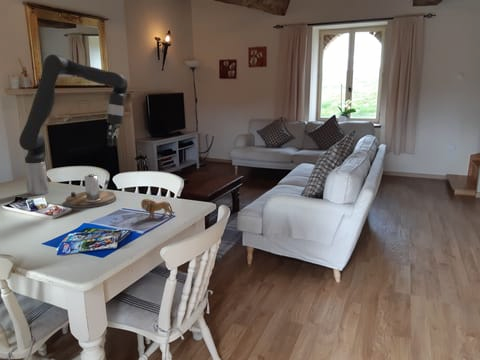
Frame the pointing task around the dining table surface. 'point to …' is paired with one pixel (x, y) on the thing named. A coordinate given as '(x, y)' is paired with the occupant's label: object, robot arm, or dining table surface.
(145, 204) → the lion figurine
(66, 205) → the turntable base
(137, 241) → the dining table surface
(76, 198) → the turntable
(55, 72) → the robot arm
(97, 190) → the canister
